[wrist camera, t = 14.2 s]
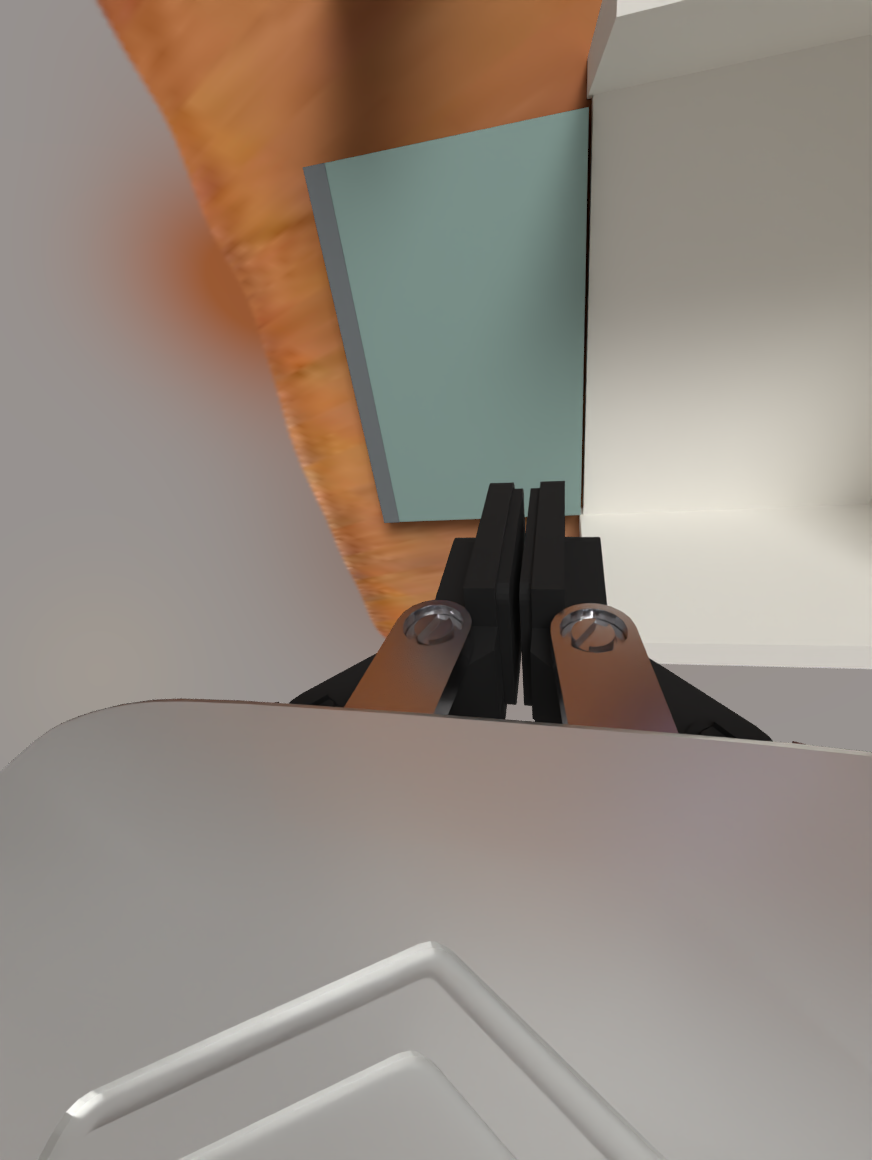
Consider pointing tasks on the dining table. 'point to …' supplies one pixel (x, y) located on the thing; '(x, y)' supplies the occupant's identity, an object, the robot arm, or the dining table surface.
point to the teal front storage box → (732, 328)
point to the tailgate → (463, 310)
